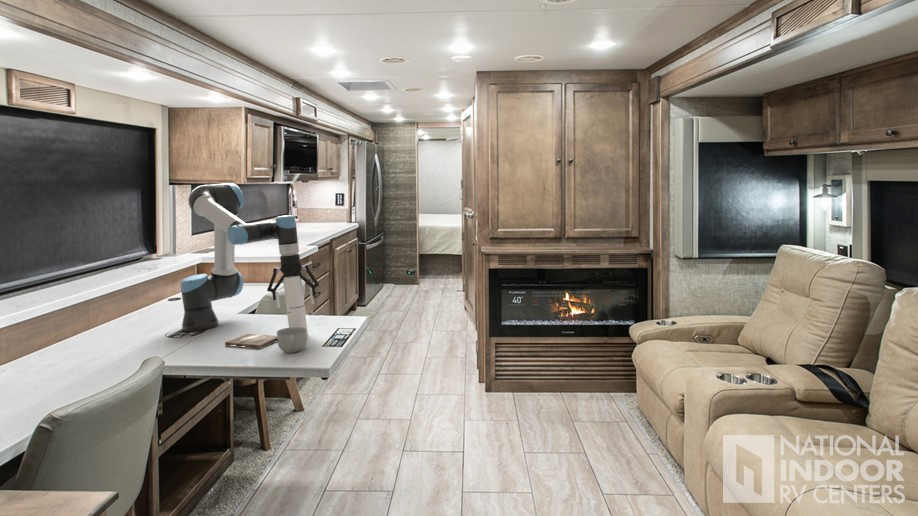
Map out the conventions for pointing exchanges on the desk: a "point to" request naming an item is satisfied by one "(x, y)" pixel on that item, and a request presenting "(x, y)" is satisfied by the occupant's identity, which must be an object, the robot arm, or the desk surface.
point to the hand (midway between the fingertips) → (295, 306)
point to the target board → (252, 340)
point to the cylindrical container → (295, 302)
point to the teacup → (292, 339)
